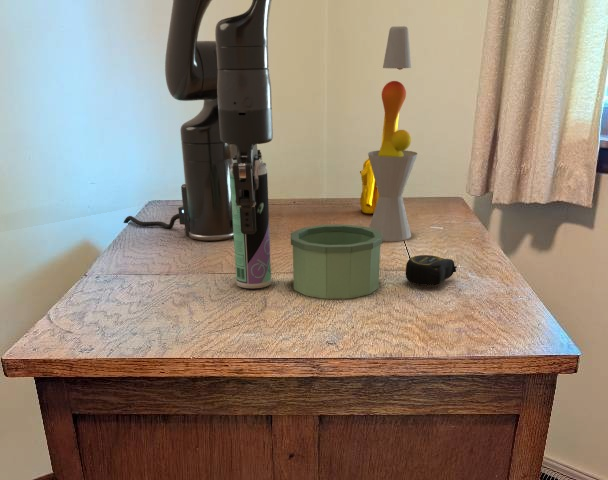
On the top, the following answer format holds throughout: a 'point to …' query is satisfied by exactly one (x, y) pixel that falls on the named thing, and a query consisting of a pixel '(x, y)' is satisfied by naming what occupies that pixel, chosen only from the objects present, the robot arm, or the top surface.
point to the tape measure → (429, 269)
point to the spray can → (252, 237)
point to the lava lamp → (393, 148)
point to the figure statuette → (370, 183)
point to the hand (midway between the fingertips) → (251, 228)
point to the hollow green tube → (336, 261)
